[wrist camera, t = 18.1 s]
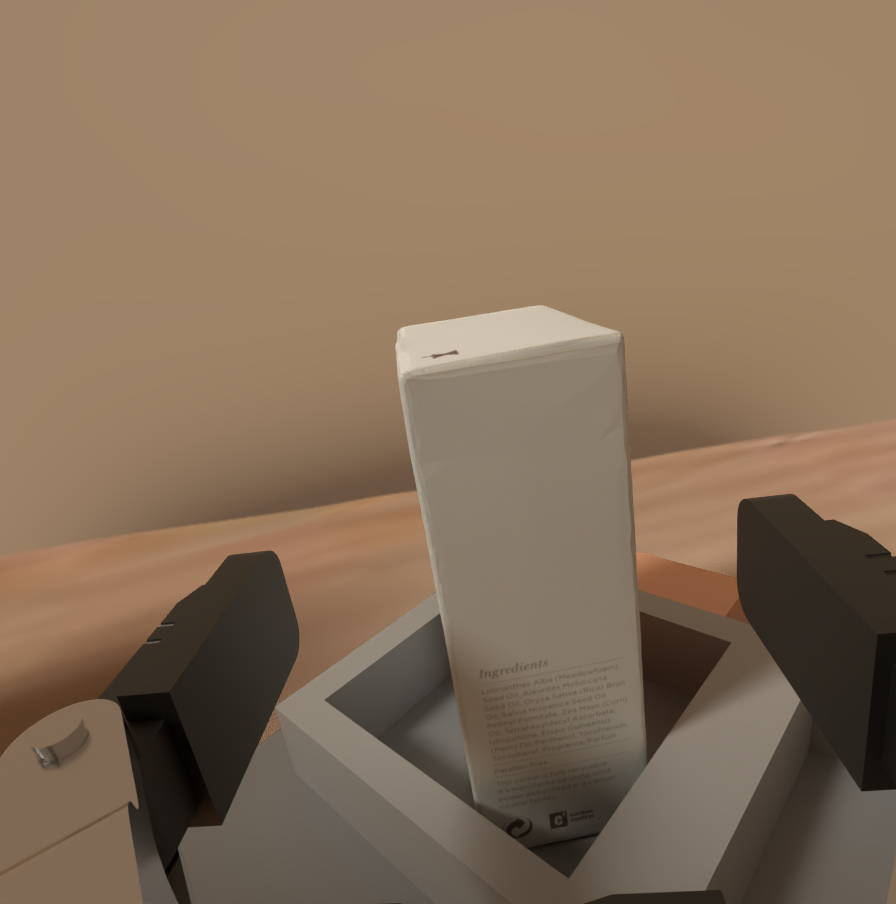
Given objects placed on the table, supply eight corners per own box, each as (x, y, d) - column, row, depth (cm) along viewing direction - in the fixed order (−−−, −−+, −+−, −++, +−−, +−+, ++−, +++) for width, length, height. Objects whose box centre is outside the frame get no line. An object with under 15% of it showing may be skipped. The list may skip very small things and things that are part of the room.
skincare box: (658, 828, 14) (633, 330, 10) (483, 864, 14) (388, 372, 10) (582, 662, 20) (547, 299, 16) (457, 686, 20) (389, 326, 16)
